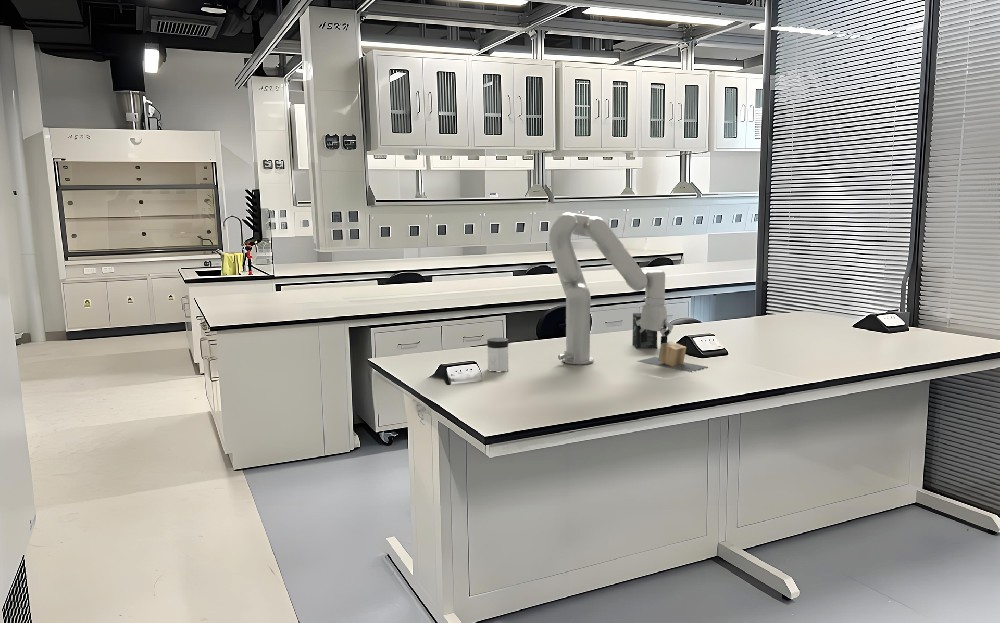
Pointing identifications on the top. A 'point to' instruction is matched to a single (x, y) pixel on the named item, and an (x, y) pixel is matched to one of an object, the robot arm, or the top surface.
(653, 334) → the tampon box
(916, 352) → the top surface
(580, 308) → the robot arm
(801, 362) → the top surface
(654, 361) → the rubber mat
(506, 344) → the jar
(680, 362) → the oak block
